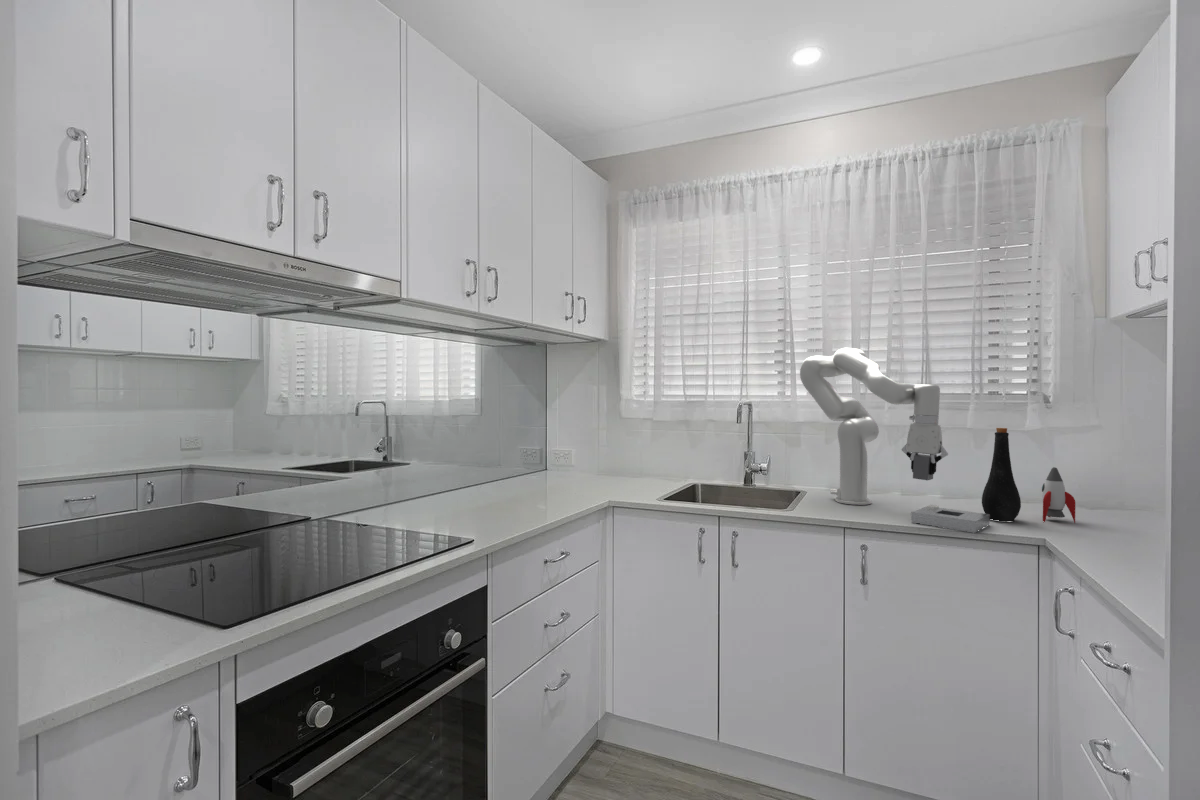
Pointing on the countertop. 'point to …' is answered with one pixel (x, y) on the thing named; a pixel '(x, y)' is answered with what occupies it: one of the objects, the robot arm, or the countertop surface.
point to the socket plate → (950, 518)
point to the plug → (922, 467)
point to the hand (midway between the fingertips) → (923, 472)
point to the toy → (1056, 496)
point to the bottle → (1001, 483)
